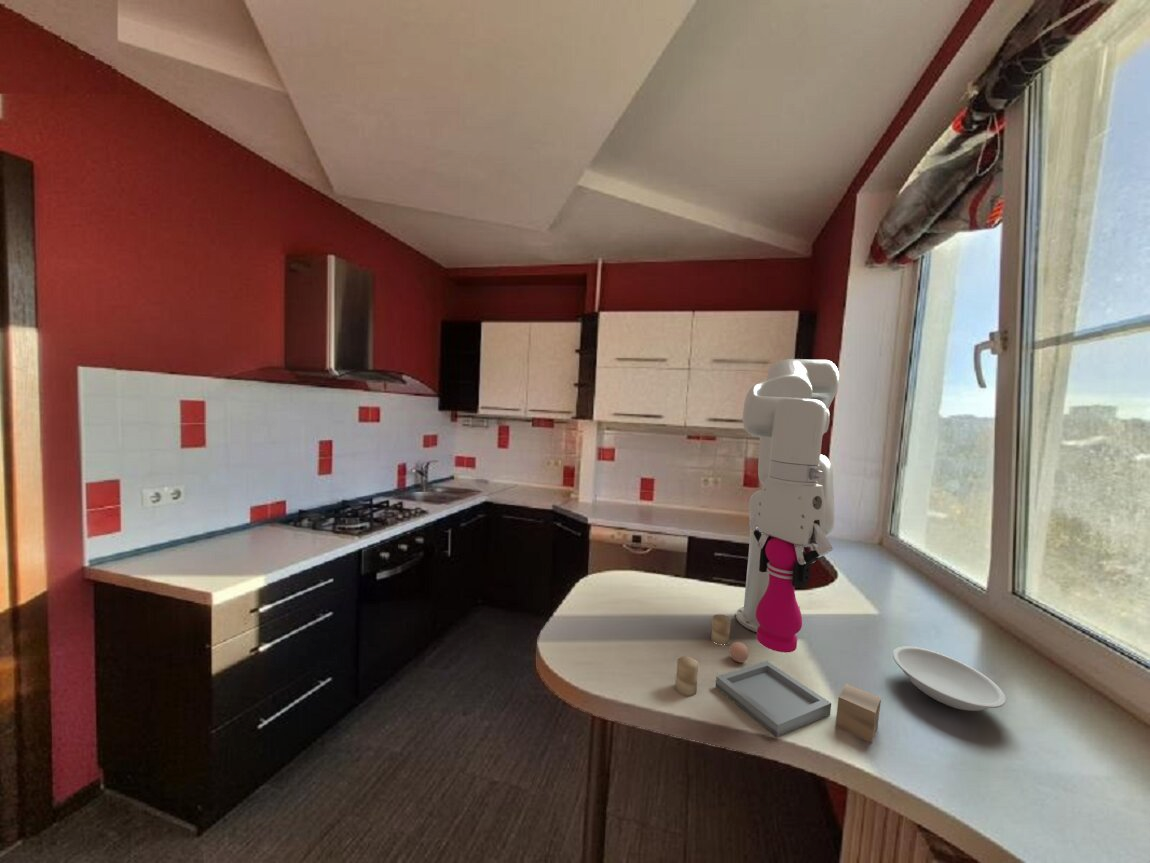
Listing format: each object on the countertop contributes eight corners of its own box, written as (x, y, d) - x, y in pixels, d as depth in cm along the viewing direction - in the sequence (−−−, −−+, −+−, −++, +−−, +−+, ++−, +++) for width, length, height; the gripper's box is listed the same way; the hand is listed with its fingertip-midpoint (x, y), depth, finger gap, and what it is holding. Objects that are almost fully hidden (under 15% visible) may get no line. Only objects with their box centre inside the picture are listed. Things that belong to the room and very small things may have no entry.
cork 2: (719, 635, 100) (721, 613, 99) (732, 643, 97) (734, 621, 96) (707, 638, 98) (709, 616, 98) (719, 647, 95) (721, 624, 94)
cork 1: (686, 681, 83) (689, 654, 82) (700, 693, 79) (702, 666, 79) (671, 685, 81) (673, 659, 81) (684, 698, 78) (686, 670, 77)
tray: (765, 670, 87) (766, 660, 87) (830, 714, 76) (831, 703, 76) (715, 686, 81) (716, 676, 81) (776, 737, 70) (777, 724, 70)
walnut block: (842, 711, 77) (845, 683, 77) (877, 727, 74) (881, 698, 73) (835, 726, 73) (838, 696, 73) (871, 743, 70) (875, 712, 69)
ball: (737, 653, 93) (739, 637, 92) (752, 663, 89) (753, 646, 89) (724, 657, 91) (726, 640, 91) (738, 667, 88) (740, 649, 87)
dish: (870, 667, 91) (873, 643, 90) (944, 672, 90) (947, 648, 90) (938, 732, 73) (942, 703, 73) (1030, 739, 73) (1034, 709, 72)
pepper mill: (805, 657, 73) (817, 536, 72) (757, 650, 75) (768, 531, 73) (793, 635, 80) (803, 524, 79) (750, 629, 82) (759, 520, 80)
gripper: (858, 482, 70) (846, 596, 71) (765, 464, 85) (757, 558, 86) (827, 483, 66) (815, 603, 67) (736, 464, 81) (728, 562, 83)
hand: (782, 577), depth 77 cm, fingers closed on pepper mill, 5 cm apart
